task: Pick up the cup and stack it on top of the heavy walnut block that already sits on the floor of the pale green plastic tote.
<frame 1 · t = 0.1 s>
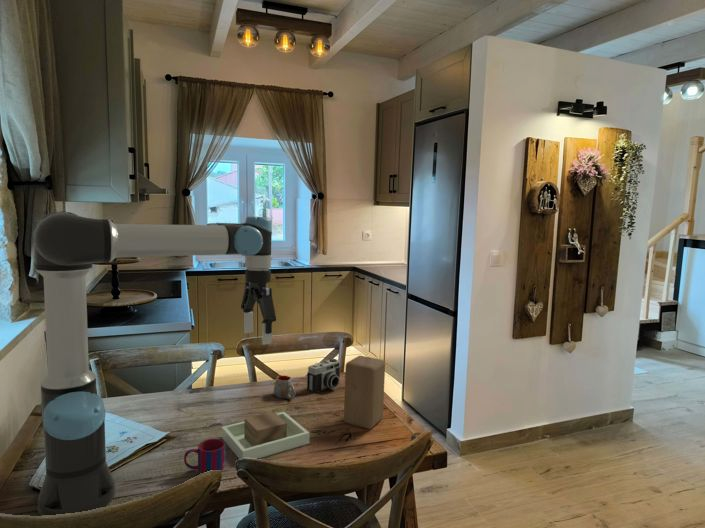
hand: (257, 338, 142), 28 cm above the table, fingers open, 13 cm apart
walnut block: (265, 440, 135), point 1 cm above the table, touching tote
wooden block: (363, 421, 152), on the table
cup: (204, 471, 120), on the table
camera: (326, 389, 178), on the table
tote: (265, 443, 135), on the table
mug: (286, 398, 168), on the table
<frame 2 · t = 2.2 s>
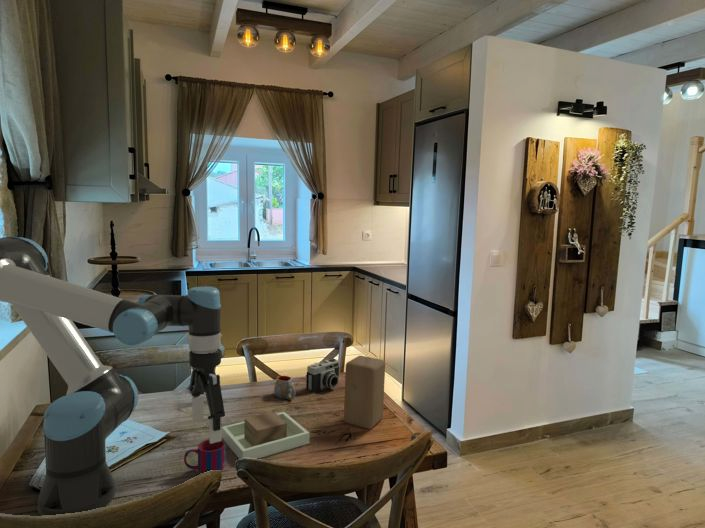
hand: (206, 430, 119), 11 cm above the table, fingers open, 13 cm apart
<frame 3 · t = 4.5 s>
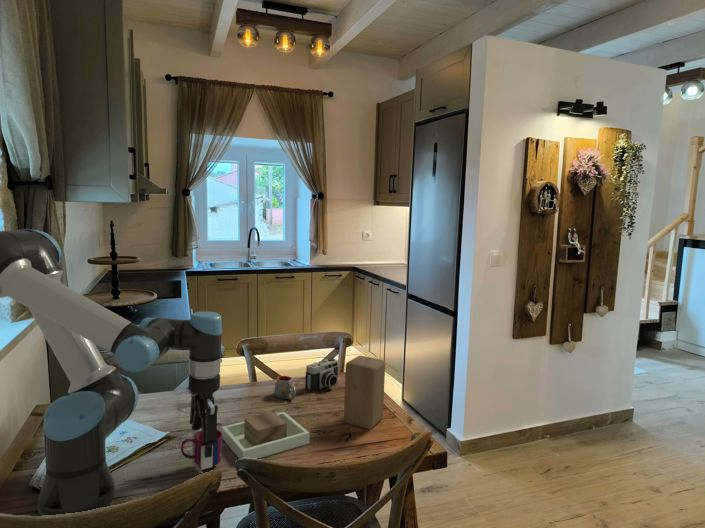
hand: (201, 460, 120), 3 cm above the table, fingers closed on cup, 7 cm apart
cup: (201, 461, 121), point 2 cm above the table, touching gripper
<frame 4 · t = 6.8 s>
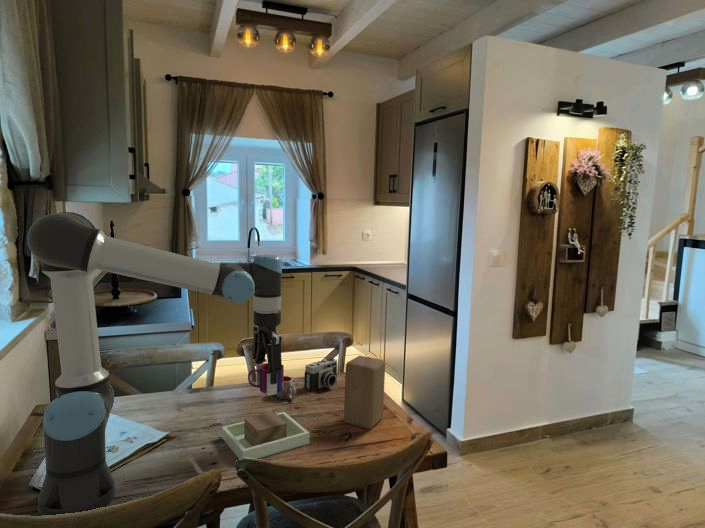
hand: (266, 389, 133), 16 cm above the table, fingers closed on cup, 7 cm apart
cup: (265, 390, 134), point 16 cm above the table, touching gripper
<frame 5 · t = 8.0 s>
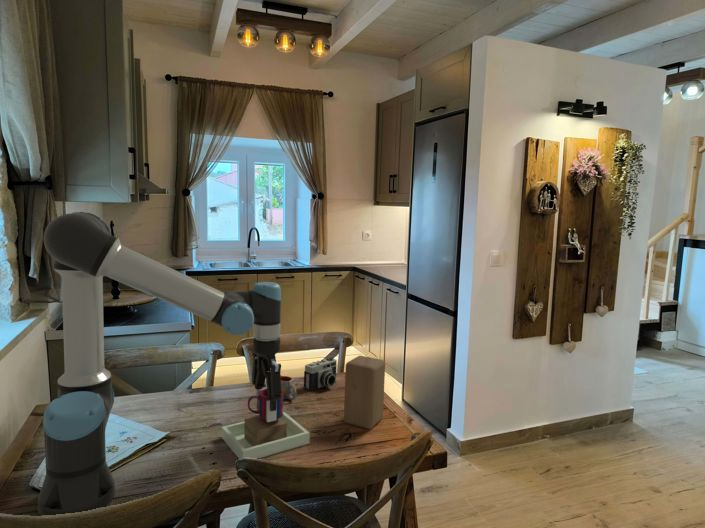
hand: (265, 415, 134), 8 cm above the table, fingers closed on cup, 7 cm apart
cup: (265, 416, 135), point 8 cm above the table, touching gripper
when the fingers open (7 cm above the table, at t = 9.0 s): cup stays where it is, resting on walnut block.
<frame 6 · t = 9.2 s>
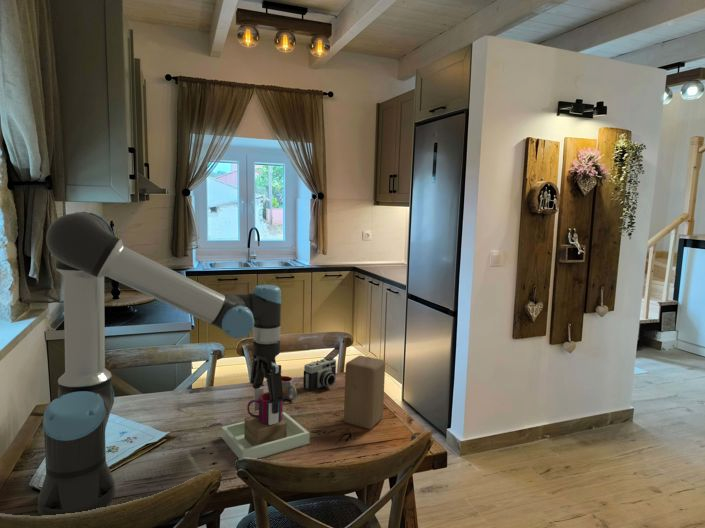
hand: (265, 416, 134), 8 cm above the table, fingers open, 9 cm apart
walnut block: (265, 440, 135), point 1 cm above the table, touching cup, tote
cup: (264, 420, 135), point 7 cm above the table, touching walnut block
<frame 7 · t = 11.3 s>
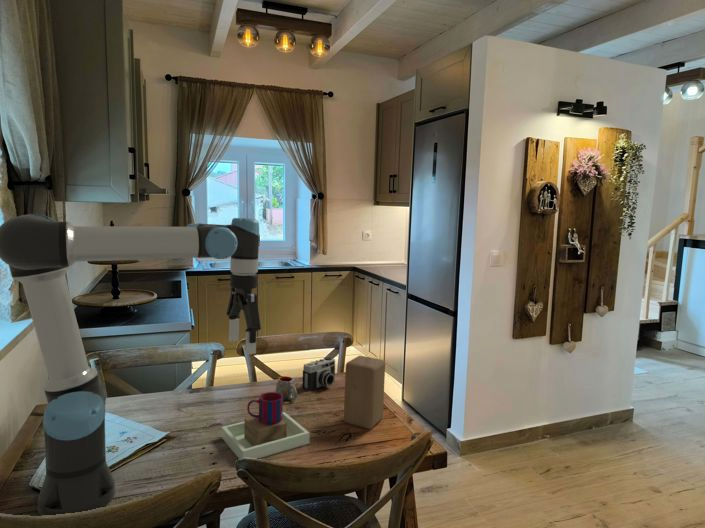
hand: (241, 347, 134), 28 cm above the table, fingers open, 13 cm apart
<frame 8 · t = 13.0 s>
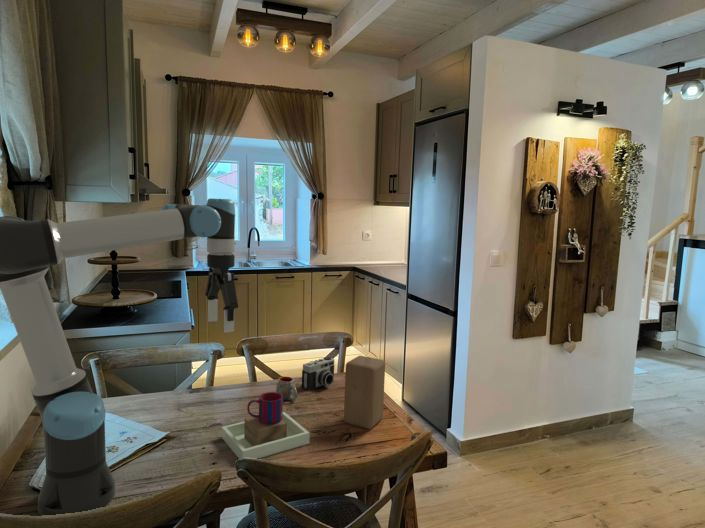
hand: (220, 326, 136), 33 cm above the table, fingers open, 13 cm apart
at the end: cup 0.6 cm from the walnut block (horizontally); cup point 6.6 cm above the table; cup tilted 0° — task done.
